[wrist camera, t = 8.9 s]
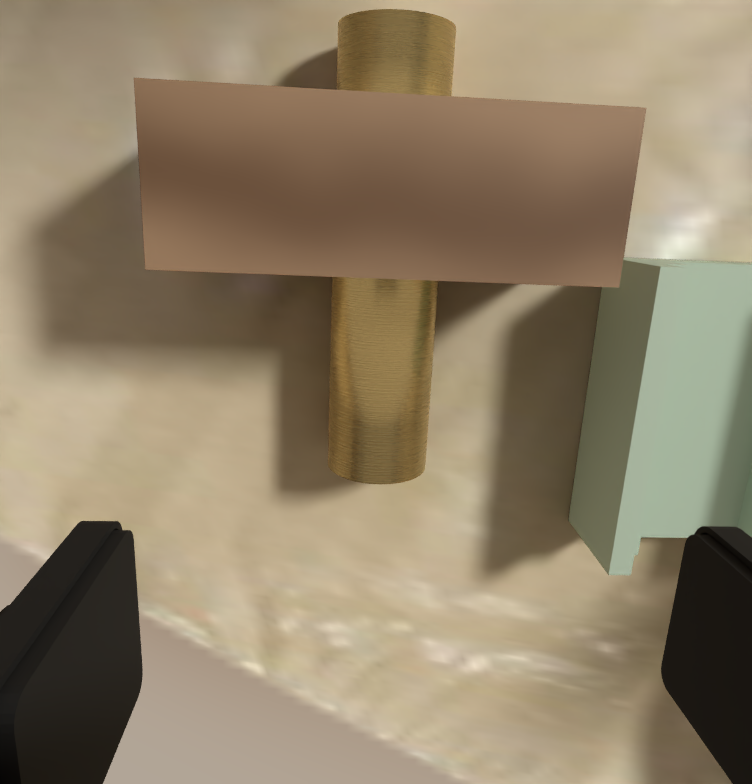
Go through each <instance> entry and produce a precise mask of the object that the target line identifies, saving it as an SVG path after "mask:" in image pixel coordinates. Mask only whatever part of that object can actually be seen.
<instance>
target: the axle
mask: <svg viewBox="0 0 752 784" xmlns="http://www.w3.org/2000/svg"><path fill="white" fill-rule="evenodd" d="M455 37H456V26H455V25H454V24H453V23H452V22H451V21H449V20H448V19H445V18H443V17H440V16H437V15H433V14H429V13H425V12H419V11H411V10H397V9H381V10H368V11H361V12H356V13H353V14H349V15H347V16H345V17H343V18H341V19H340V20H339V22H338V54H337V90H350V91H367V92H384V93H401V94H418V95H435V96H451V94H452V79H453V65H454V51H455ZM437 292H438V281H431V280H404V279H378V278H351V277H332V311H331V354H330V397H329V440H328V466H329V468H330V469H331V470H332V471H333V472H334V473H335V474H337V475H339V476H341V477H343V478H346V479H349V480H352V481H356V482H361V483H369V484H394V483H401V482H405V481H409V480H412V479H414V478H416V477H418V476H420V475H421V474H422V473H423V472H424V470H425V462H426V447H427V433H428V419H429V405H430V391H431V377H432V362H433V348H434V334H435V320H436V306H437Z"/></svg>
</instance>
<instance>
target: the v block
mask: <svg viewBox="0 0 752 784" xmlns="http://www.w3.org/2000/svg"><path fill="white" fill-rule="evenodd" d="M568 521H569V522H570V523H571V525H572V526H573V527H574V529H575V530H576V532H577V533H578V534H579V536H580V537H581V538H582V540H583V541H584V542H585V544H586V545H587V546H588V548H589V549H590V551H591V552H592V553H593V555H594V556H595V557H596V559H597V560H598V561H599V563H600V564H601V565H602V567H603V568H604V569H605V571H606V572H607V574H608V575H631V571H632V565H633V560H634V555H638V551H639V545H640V540H641V537H660V538H688V537H689V536H690V535H694V534H695V532H696V531H697V529H698V528H700V527H702V526H731V527H738V528H740V529H741V530H743V531H744V532H745V533H747V534H748V535H749V536H751V537H752V263H744V262H720V261H696V260H671V259H647V258H623V265H622V272H621V278H620V285H619V288H616V287H602V290H601V297H600V304H599V311H598V318H597V325H596V332H595V339H594V346H593V353H592V359H591V366H590V373H589V380H588V387H587V394H586V401H585V408H584V415H583V422H582V429H581V436H580V443H579V450H578V457H577V463H576V470H575V477H574V484H573V491H572V498H571V505H570V512H569V519H568Z"/></svg>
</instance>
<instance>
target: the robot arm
mask: <svg viewBox="0 0 752 784" xmlns="http://www.w3.org/2000/svg"><path fill="white" fill-rule="evenodd" d="M661 673H662V679H663V682H664V685H665V687H666V689H667V691H668V692H669V694H670V695H671V697H672V698H673V699H674V701H675V702H676V704H677V705H678V707H679V708H680V709H681V711H682V712H683V714H684V715H685V716H686V718H687V719H688V721H689V722H690V724H691V725H692V726H693V728H694V729H695V731H696V732H697V734H698V735H699V736H700V738H701V739H702V741H703V742H704V743H705V745H706V746H707V748H708V749H709V751H710V752H711V753H712V755H713V756H714V758H715V759H716V761H717V762H718V763H719V765H720V766H721V768H722V769H723V770H724V772H725V773H726V775H727V776H728V778H729V779H730V780H731V782H732V783H733V784H752V537H751V536H749V535H748V534H747V533H745V532H744V531H743V530H741V529H740V528H738V527H731V526H702V527H700V528H698V529H697V531H696V532H695V534H694V535H690V536H689V537H688V538H687V540H686V543H685V547H684V553H683V558H682V563H681V568H680V573H679V578H678V583H677V588H676V594H675V599H674V604H673V609H672V614H671V619H670V624H669V629H668V635H667V640H666V645H665V650H664V655H663V660H662V666H661ZM141 683H142V655H141V641H140V626H139V611H138V596H137V582H136V567H135V552H134V539H133V534H132V532H131V531H130V530H122V527H121V524H120V523H119V522H118V521H81V522H79V523H78V524H77V525H76V527H75V528H74V529H73V530H72V531H71V533H70V534H69V535H68V536H67V537H66V538H65V540H64V541H63V542H62V543H61V544H60V546H59V547H58V548H57V549H56V550H55V552H54V553H53V554H52V555H51V556H50V558H49V559H48V560H47V561H46V562H45V564H44V565H43V566H42V567H41V568H40V570H39V571H38V572H37V573H36V575H35V576H34V577H33V578H32V579H31V580H30V582H29V583H28V584H27V585H26V586H25V587H24V589H23V590H22V591H21V592H20V594H19V595H18V596H17V597H16V598H15V600H14V601H13V602H12V603H11V604H10V605H8V606H6V607H5V608H4V609H3V610H2V611H1V612H0V784H103V782H104V779H105V777H106V774H107V772H108V769H109V767H110V764H111V762H112V760H113V757H114V755H115V752H116V750H117V747H118V744H119V743H120V740H121V738H122V735H123V733H124V730H125V728H126V725H127V723H128V721H129V718H130V716H131V713H132V711H133V708H134V706H135V703H136V701H137V698H138V696H139V693H140V689H141Z"/></svg>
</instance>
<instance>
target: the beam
mask: <svg viewBox="0 0 752 784" xmlns="http://www.w3.org/2000/svg"><path fill="white" fill-rule="evenodd" d="M134 88H135V105H136V122H137V139H138V156H139V173H140V190H141V206H142V223H143V240H144V257H145V270H167V271H193V272H219V273H246V274H272V275H299V276H325V277H351V278H378V279H404V280H431V281H457V282H484V283H510V284H536V285H563V286H589V287H616V288H619V285H620V278H621V272H622V265H623V258H624V252H625V245H626V239H627V232H628V225H629V219H630V212H631V206H632V199H633V193H634V186H635V179H636V173H637V166H638V160H639V153H640V146H641V140H642V133H643V127H644V120H645V114H646V108H640V107H623V106H606V105H589V104H572V103H555V102H538V101H521V100H504V99H487V98H470V97H452V96H435V95H418V94H401V93H384V92H367V91H350V90H333V89H316V88H299V87H281V86H264V85H247V84H230V83H213V82H196V81H179V80H162V79H145V78H134Z"/></svg>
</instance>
